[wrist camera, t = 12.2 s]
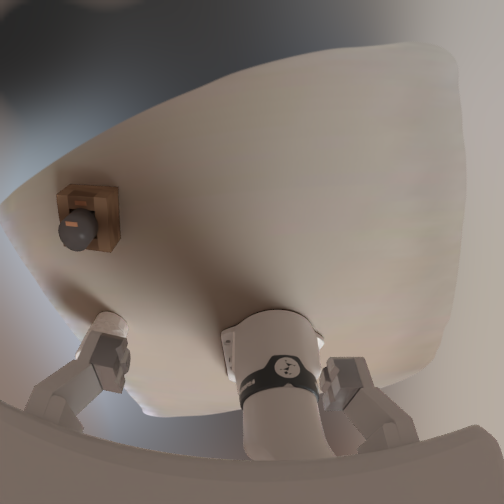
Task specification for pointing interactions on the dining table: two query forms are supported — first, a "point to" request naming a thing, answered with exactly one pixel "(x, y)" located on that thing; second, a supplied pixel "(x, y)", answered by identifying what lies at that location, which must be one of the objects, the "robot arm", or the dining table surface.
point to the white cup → (107, 326)
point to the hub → (104, 207)
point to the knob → (78, 229)
